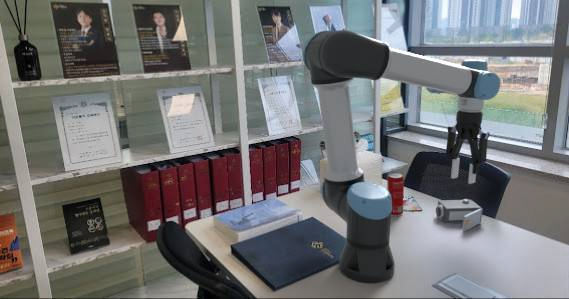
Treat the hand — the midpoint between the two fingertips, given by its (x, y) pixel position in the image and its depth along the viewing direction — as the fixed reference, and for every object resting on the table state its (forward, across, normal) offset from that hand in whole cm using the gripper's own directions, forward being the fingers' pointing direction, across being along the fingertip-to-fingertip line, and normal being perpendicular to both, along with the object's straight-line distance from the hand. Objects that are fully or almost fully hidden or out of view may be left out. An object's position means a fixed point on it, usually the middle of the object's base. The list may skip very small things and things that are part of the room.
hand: (462, 180), depth 140 cm
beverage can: (+17, -20, -9) cm, 28 cm away
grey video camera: (+17, -5, +6) cm, 19 cm away
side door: (+16, +3, +4) cm, 17 cm away
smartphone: (+17, -24, +2) cm, 30 cm away
